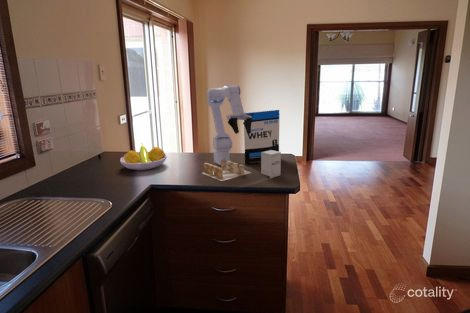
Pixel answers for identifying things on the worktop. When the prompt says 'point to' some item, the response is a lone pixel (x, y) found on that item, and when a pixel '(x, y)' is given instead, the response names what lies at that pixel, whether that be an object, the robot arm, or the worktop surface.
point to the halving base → (226, 175)
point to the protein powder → (261, 135)
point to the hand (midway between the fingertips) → (243, 133)
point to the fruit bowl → (144, 158)
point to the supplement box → (271, 163)
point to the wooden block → (210, 168)
